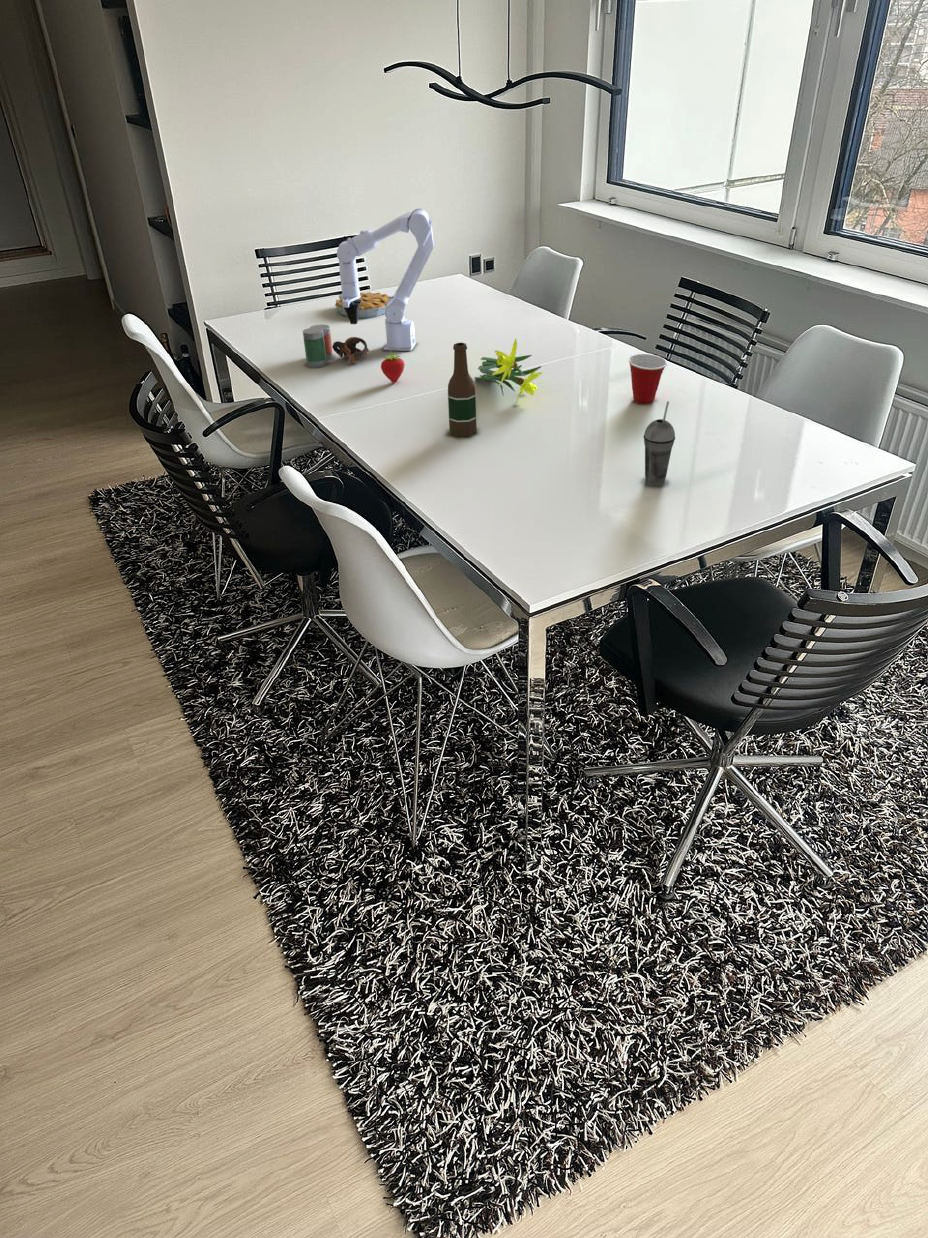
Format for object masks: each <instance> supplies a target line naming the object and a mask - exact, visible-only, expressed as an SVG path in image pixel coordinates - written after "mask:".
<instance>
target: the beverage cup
mask: <svg viewBox="0 0 928 1238" xmlns="http://www.w3.org/2000/svg"><path fill="white" fill-rule="evenodd" d="M669 403H670V401H669V400H667V401H666V404H665V408H664V413H663V418H660V419H655V420H652V421H651V422H650V423H649V424H648V425H647V426H646V428H645V431H644V433H643V436H642V437H643V444H644V478H645V479H644V481H645V485H647V486H649V487H662V486H664V484H665V482H666V479H667V474H668V470H669V464H670V461H671V460H670V459H671V454H672V449H673V447H674V444H675V440H676V432H675V428H674V426H673V424H672V423H671V422H669V421H668V420H666V417H667V414H668V408H669Z"/></svg>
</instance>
